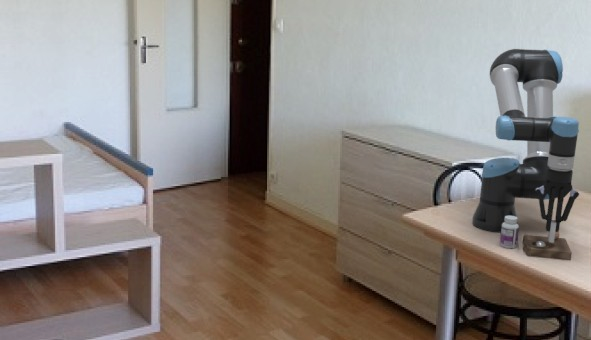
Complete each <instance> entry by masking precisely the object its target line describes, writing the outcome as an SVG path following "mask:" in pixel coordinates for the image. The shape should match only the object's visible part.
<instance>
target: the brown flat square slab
mask: <svg viewBox="0 0 591 340" xmlns="http://www.w3.org/2000/svg"><path fill="white" fill-rule="evenodd" d="M522 237H523V238H522V244H523V247H522V248H523V252H524V253H525V255H526V257H532V258H546V259H552V260H554V259H555V260H564V261H565V260H566V261H571V260H572V253H573V252H572V250H571V248H570V246H569V243H568V241H567V239H566V238H564V237H563V238H562V237H558V238H557V239H555V240H554V243H552V242H549V241H548V236H543V235H531V234H523V236H522ZM538 241H543V242H544V243H545V244H546V246H545V247H539V246H535V244H536V242H538Z"/></svg>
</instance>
